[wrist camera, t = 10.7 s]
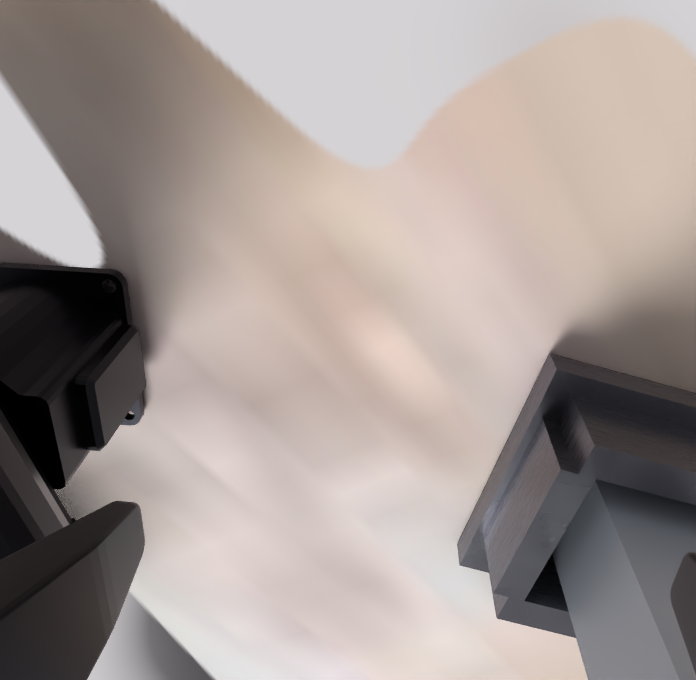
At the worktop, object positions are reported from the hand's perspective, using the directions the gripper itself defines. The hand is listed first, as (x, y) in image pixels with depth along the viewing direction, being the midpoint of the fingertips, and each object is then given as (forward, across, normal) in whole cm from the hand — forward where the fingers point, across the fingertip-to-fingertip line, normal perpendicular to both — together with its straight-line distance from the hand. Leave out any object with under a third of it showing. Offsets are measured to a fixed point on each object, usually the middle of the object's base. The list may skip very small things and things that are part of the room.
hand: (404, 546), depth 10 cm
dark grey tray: (+13, +9, -9) cm, 18 cm away
